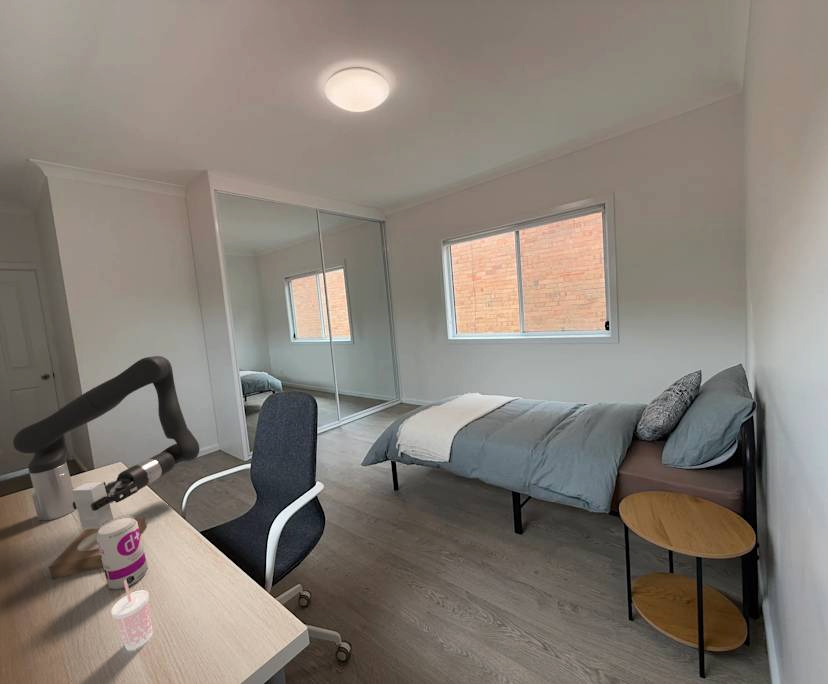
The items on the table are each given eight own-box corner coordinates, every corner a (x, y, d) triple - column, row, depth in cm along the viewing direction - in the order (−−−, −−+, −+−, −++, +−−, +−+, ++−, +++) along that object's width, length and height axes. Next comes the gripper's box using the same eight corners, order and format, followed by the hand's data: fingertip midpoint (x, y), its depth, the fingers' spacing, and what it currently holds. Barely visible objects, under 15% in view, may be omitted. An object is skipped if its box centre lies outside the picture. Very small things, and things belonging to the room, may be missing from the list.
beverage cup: (163, 625, 80) (150, 567, 78) (144, 652, 74) (129, 590, 72) (134, 628, 80) (120, 570, 78) (113, 656, 74) (97, 594, 72)
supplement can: (155, 568, 98) (144, 516, 95) (122, 594, 90) (109, 538, 88) (134, 564, 100) (122, 513, 98) (100, 588, 93) (86, 533, 90)
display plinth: (51, 579, 98) (48, 565, 97) (87, 540, 113) (84, 528, 112) (121, 562, 102) (118, 548, 101) (146, 527, 117) (144, 515, 116)
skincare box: (114, 519, 108) (104, 481, 106) (100, 529, 104) (90, 489, 102) (95, 520, 109) (85, 482, 107) (81, 529, 104) (70, 490, 102)
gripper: (120, 464, 120) (61, 493, 104) (155, 465, 116) (98, 496, 100) (126, 485, 121) (67, 517, 105) (160, 487, 117) (105, 521, 101)
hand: (83, 507), depth 103 cm, fingers closed on skincare box, 6 cm apart
